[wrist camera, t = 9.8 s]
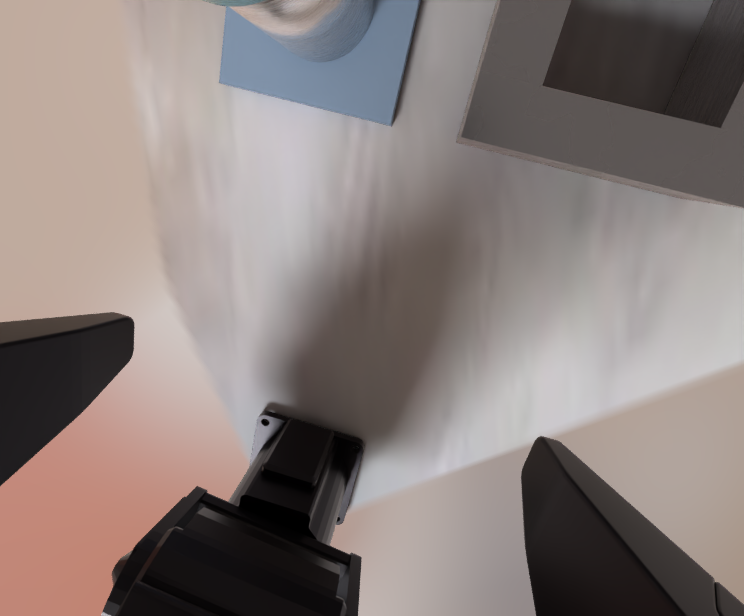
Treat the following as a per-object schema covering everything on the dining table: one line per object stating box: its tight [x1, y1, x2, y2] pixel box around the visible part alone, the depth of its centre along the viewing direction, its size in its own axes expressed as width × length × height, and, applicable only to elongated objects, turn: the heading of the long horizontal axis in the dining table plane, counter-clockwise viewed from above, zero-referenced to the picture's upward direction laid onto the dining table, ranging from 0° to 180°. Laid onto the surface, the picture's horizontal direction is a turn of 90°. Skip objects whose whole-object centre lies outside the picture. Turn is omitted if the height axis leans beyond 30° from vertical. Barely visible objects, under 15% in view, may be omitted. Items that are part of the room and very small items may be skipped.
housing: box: [456, 0, 744, 208], centre depth 15 cm, size 10×10×4 cm
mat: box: [219, 0, 421, 126], centre depth 18 cm, size 8×8×1 cm
